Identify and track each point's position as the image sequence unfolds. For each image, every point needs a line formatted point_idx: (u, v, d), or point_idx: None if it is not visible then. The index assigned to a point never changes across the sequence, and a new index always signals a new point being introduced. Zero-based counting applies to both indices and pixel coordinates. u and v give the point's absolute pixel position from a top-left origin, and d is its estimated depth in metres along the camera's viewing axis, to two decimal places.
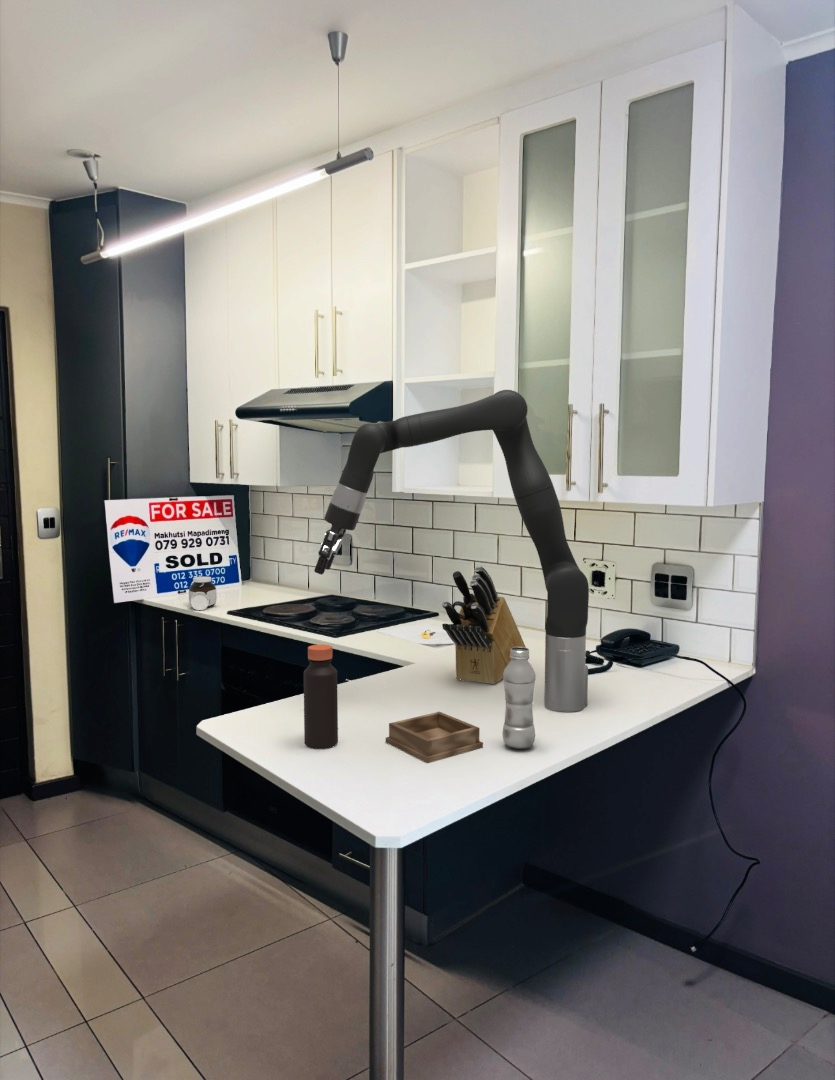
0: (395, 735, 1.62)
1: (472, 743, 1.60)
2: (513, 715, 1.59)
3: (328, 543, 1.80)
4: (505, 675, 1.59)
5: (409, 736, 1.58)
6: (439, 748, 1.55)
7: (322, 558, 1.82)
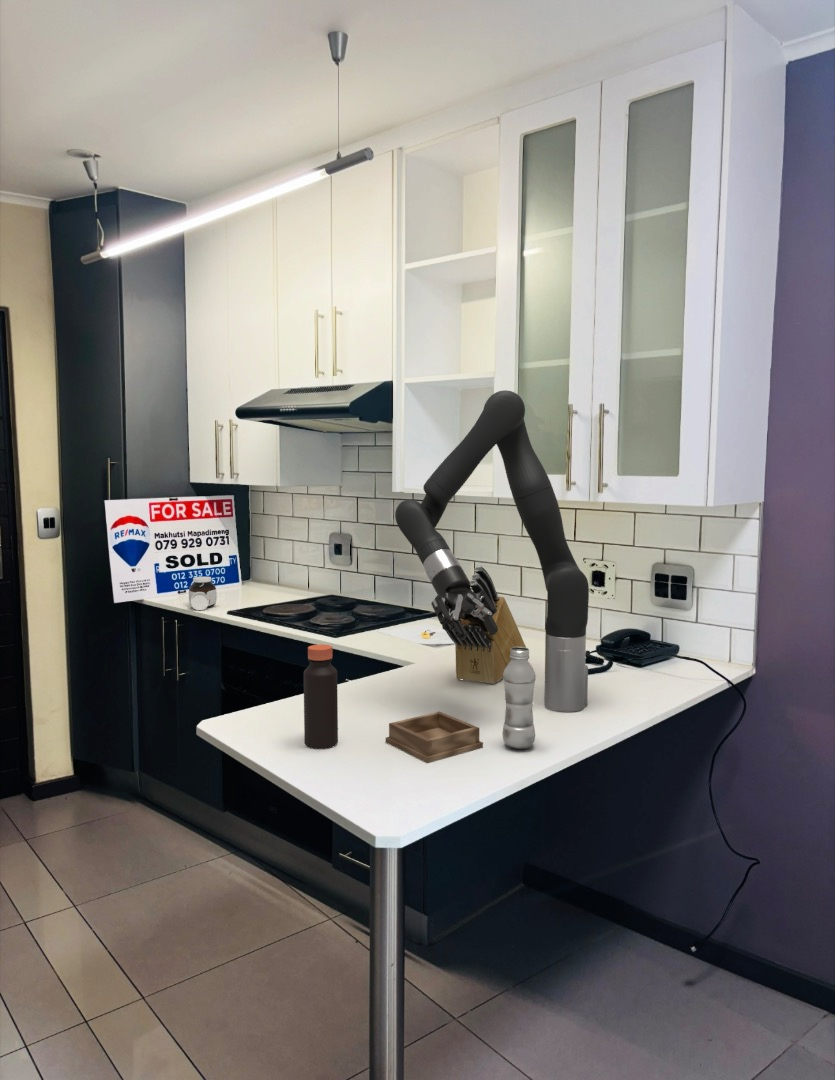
0: (395, 735, 1.62)
1: (472, 743, 1.60)
2: (513, 715, 1.59)
3: (438, 609, 1.69)
4: (505, 675, 1.59)
5: (409, 736, 1.58)
6: (439, 748, 1.55)
7: (451, 624, 1.68)
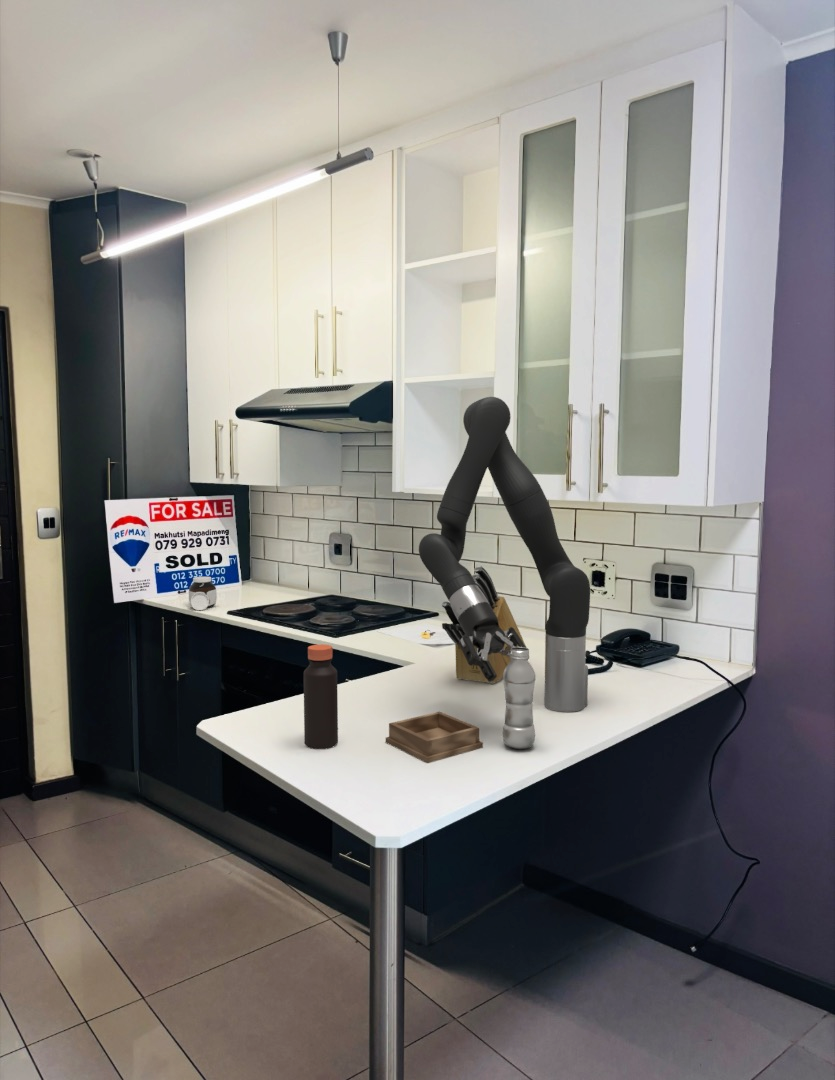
0: (395, 735, 1.62)
1: (472, 743, 1.60)
2: (513, 715, 1.59)
3: (465, 648, 1.62)
4: (505, 675, 1.59)
5: (409, 736, 1.58)
6: (439, 748, 1.55)
7: (479, 664, 1.61)
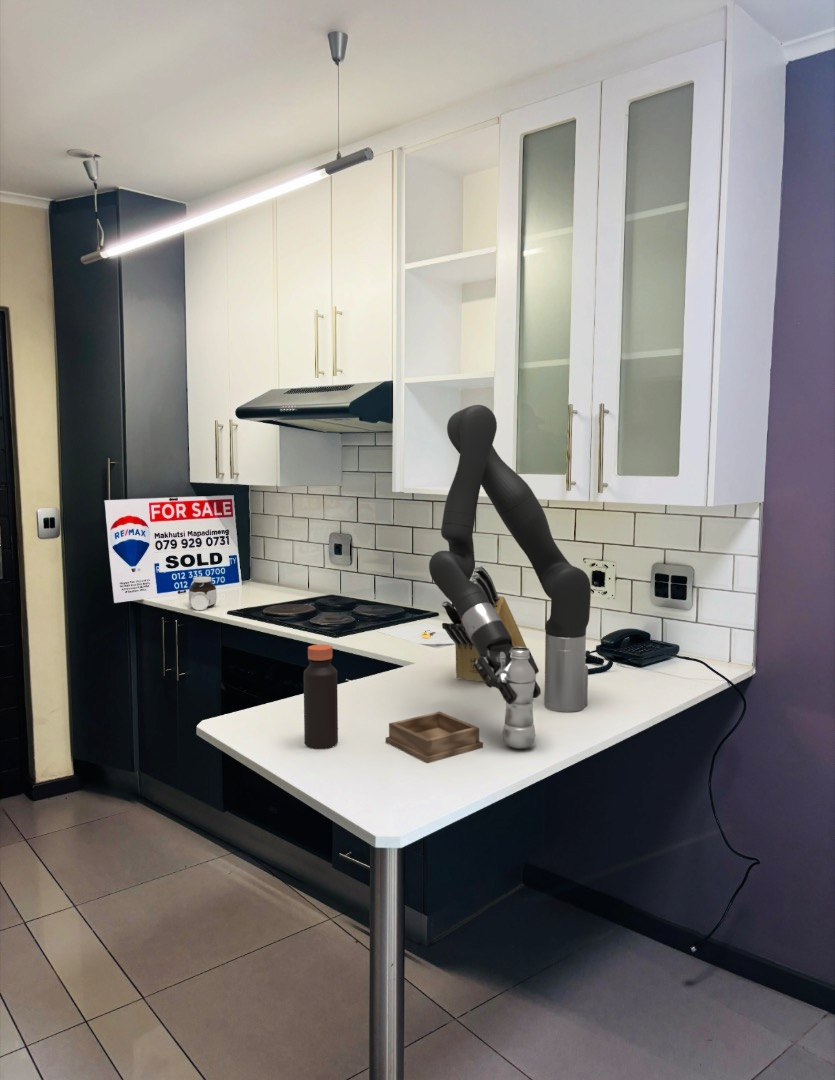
0: (395, 735, 1.62)
1: (472, 743, 1.60)
2: (513, 715, 1.59)
3: (483, 671, 1.59)
4: (505, 675, 1.59)
5: (409, 736, 1.58)
6: (439, 748, 1.55)
7: (499, 687, 1.58)
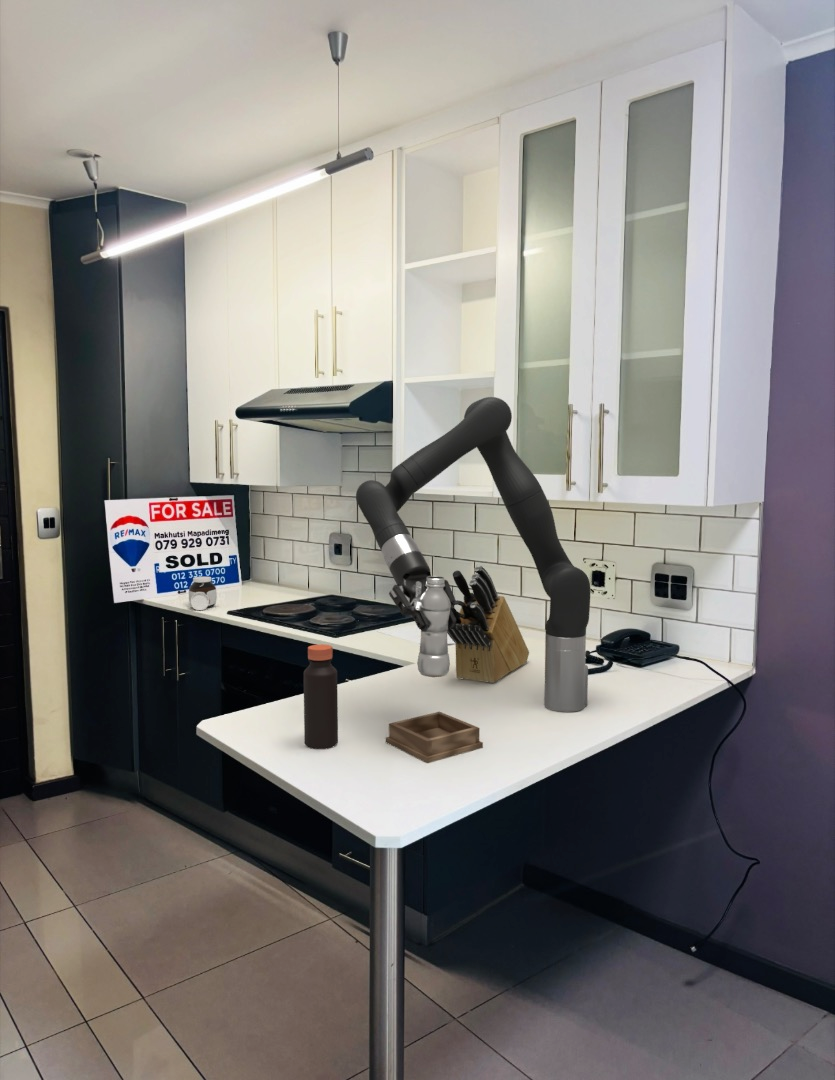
0: (395, 735, 1.62)
1: (472, 743, 1.60)
2: (427, 643, 1.58)
3: (397, 599, 1.59)
4: (420, 603, 1.59)
5: (409, 736, 1.58)
6: (439, 748, 1.55)
7: (413, 614, 1.58)
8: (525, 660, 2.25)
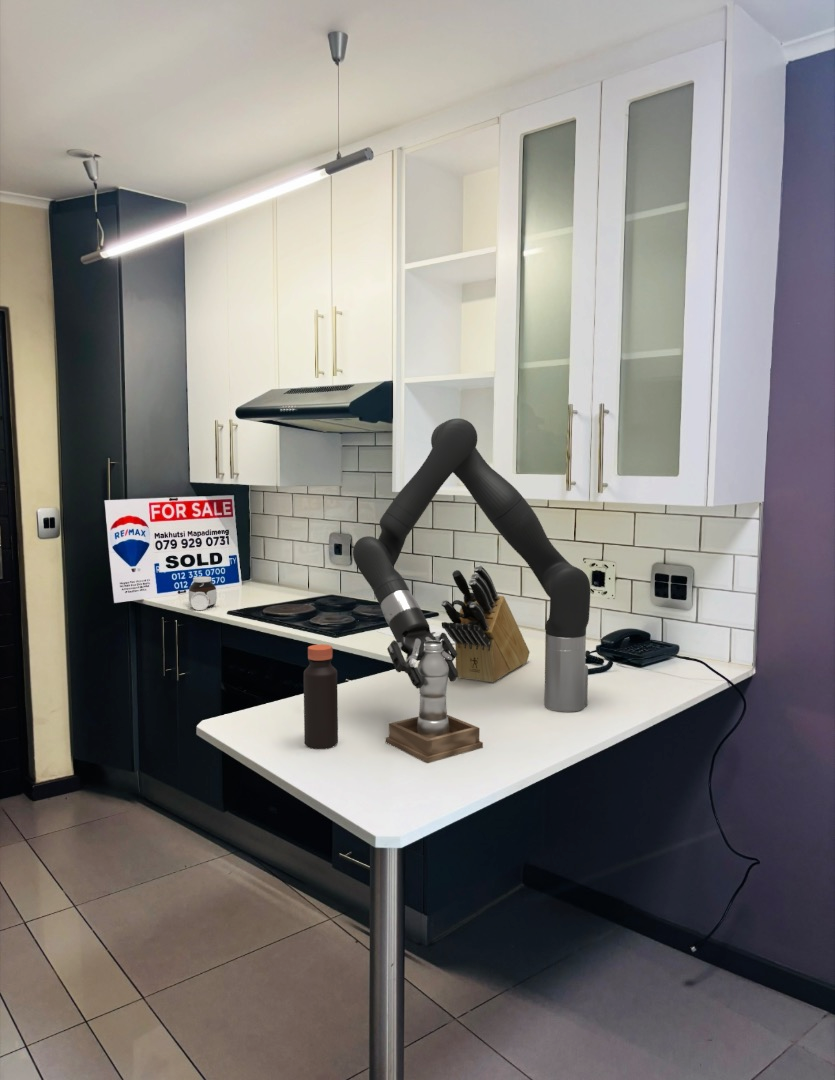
0: (395, 735, 1.62)
1: (472, 743, 1.60)
2: (426, 709, 1.60)
3: (393, 655, 1.60)
4: (418, 668, 1.60)
5: (409, 736, 1.58)
6: (439, 748, 1.55)
7: (407, 671, 1.59)
8: (525, 660, 2.26)
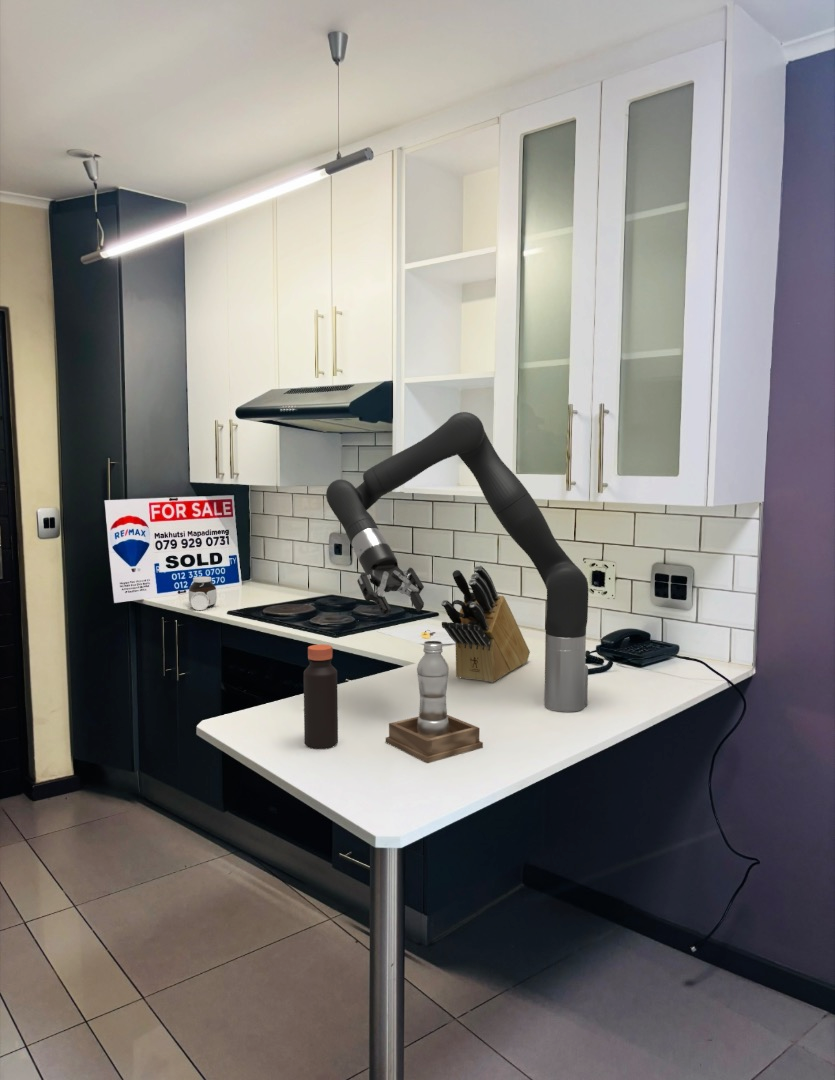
0: (395, 735, 1.62)
1: (472, 743, 1.60)
2: (426, 709, 1.60)
3: (363, 585, 1.71)
4: (418, 668, 1.60)
5: (409, 736, 1.58)
6: (439, 748, 1.55)
7: (376, 600, 1.70)
8: (526, 660, 2.26)
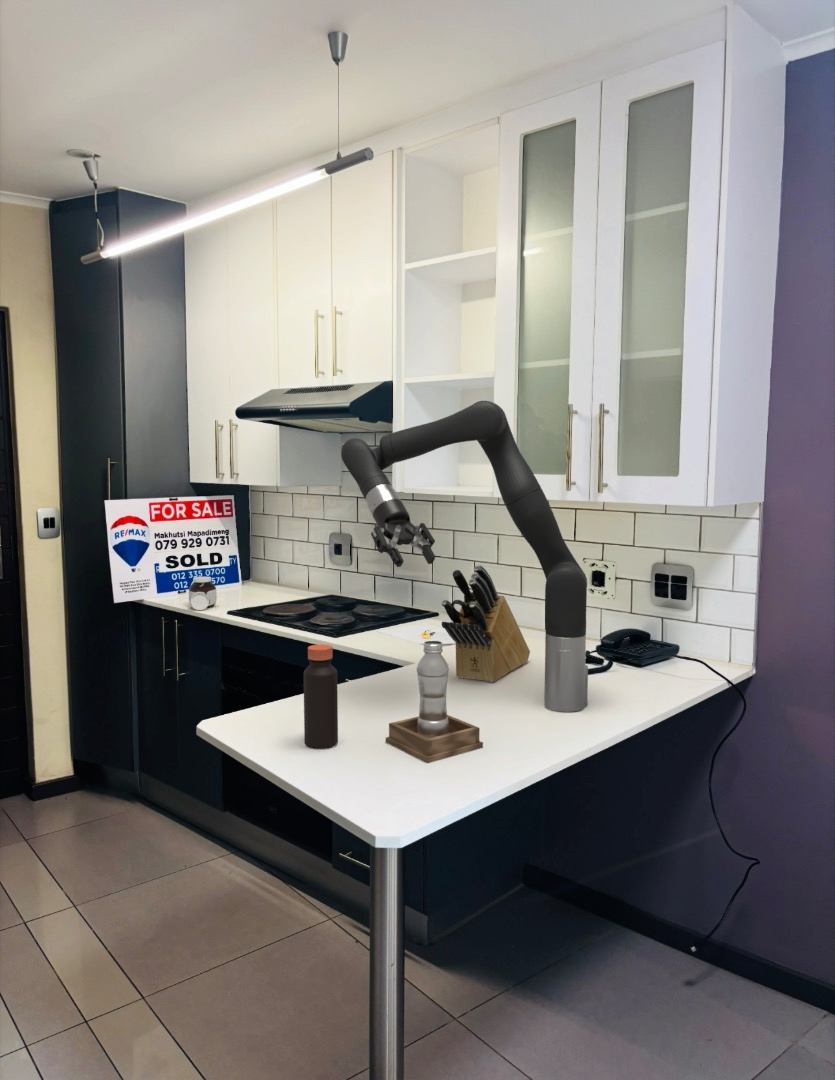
0: (395, 735, 1.62)
1: (472, 743, 1.60)
2: (426, 709, 1.60)
3: (376, 538, 1.77)
4: (418, 668, 1.60)
5: (409, 736, 1.58)
6: (439, 748, 1.55)
7: (389, 552, 1.76)
8: (526, 659, 2.26)
